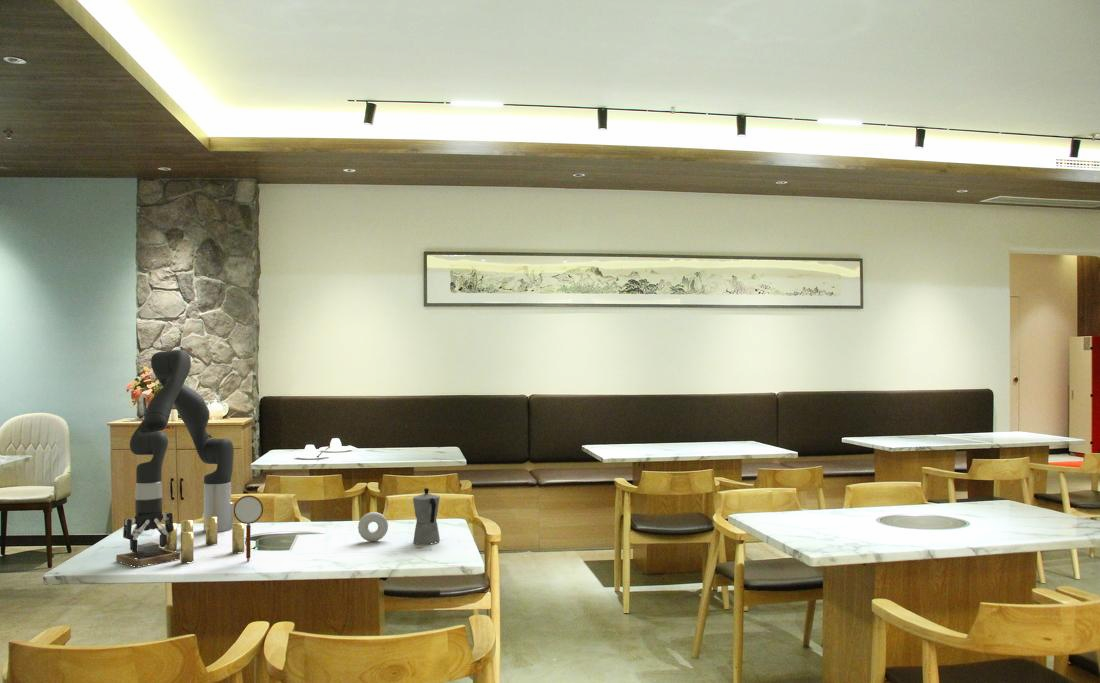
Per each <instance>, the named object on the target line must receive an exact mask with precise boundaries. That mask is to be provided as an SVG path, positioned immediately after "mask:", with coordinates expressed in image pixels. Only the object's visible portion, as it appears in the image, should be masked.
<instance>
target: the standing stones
mask: <svg viewBox="0 0 1100 683" xmlns="http://www.w3.org/2000/svg"><path fill="white" fill-rule="evenodd" d="M164 528H165V529H166V526H165V525H164ZM231 530H232V531H231V535H232V536H231V538H232V539H231V542H232V543H231V545H232V546H231V551H232V552H235V553H234V554H239V553H238V552H242V553H244V552H245V523H242V522H233V524H232V529H231ZM194 534H195V533H194V520H193V519H183V520H180V563H181V562H182V563H187V562H192V561H193V562H194V546H195V544H194V542H195V540H194V538H195V536H194ZM177 535H178V523H177V522H173V531H172V532H169V533H168V534H167V544H166V545H165V547H163V548H164V549H168V550H171V551H177V550H178V544H177V542H178V536H177ZM206 544H207V545H206ZM212 544H216V545H218V532H217V516H210V517H206V532H205V545H206V546H213V545H212ZM177 552H178V551H177ZM193 562H192V563H193ZM182 563H181V564H182ZM187 564H188V563H187Z"/></svg>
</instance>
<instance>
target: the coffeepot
mask: <svg viewBox="0 0 1100 683" xmlns="http://www.w3.org/2000/svg"><path fill="white" fill-rule="evenodd" d="M429 489H430V488H428V487H425V488H424V489H423V490H424V493H422V494H419V495H415V496H413V498H412V500H413V501H412V502H413V508H414V516H415V518H416V522H415V523H416V524H415V528H414V535H413V541H412V542H413V544H415V543H418V544H417V545H420V544H428V545H432V544H431V543H435V542H438V543H440V541H441V540H440V533H439V532H440V531H439V527H438V526H439V525H438V522H437V518H438V512H439V506H440V499H441V497H440V495H437V494H432V493H429ZM435 544H436V543H435Z"/></svg>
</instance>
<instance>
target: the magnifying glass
mask: <svg viewBox="0 0 1100 683" xmlns="http://www.w3.org/2000/svg"><path fill="white" fill-rule="evenodd" d="M263 512H264V504H263V502H262V501H261V500H260V499H259V498H258V496H255V495H250V494H249V495H244V496H242V497H240V498H239V499H237V501H236V502H235V504H234V505H233V516H234V517H235V519H236V520H237V521H238V522H239V523H244V525H246V526H245V527H246V528H245V529H246V534H245V535H246V536H245V537H246V540H245V541H246V542H245V545H246V546H245V547H246V548H245V549H246V550H245V551H246V554H245V557H246V561H247V562H249V561H250V558H251V529H252V528H251V524H254V523H255V522H258V520H260V519H261V518H262V515H263Z"/></svg>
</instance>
